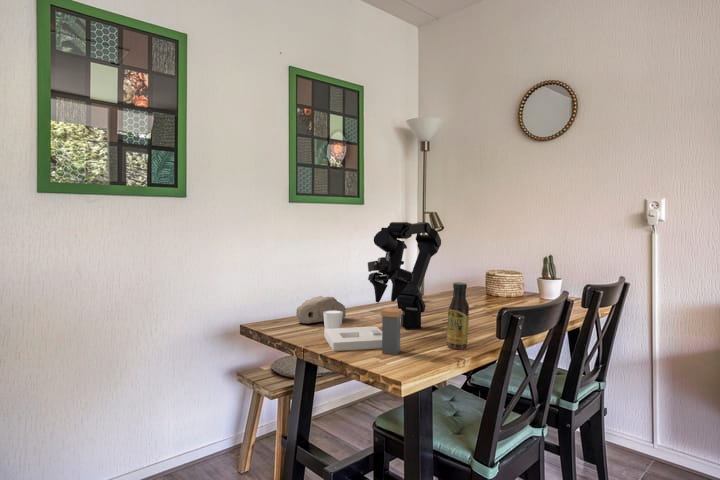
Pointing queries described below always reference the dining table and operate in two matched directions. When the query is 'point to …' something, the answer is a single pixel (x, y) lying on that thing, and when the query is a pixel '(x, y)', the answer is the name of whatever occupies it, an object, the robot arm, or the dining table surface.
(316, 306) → the decorative stone
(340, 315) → the white tapered cup
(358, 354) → the dining table surface
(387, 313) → the plug
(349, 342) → the socket plate
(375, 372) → the dining table surface
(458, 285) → the sauce bottle
